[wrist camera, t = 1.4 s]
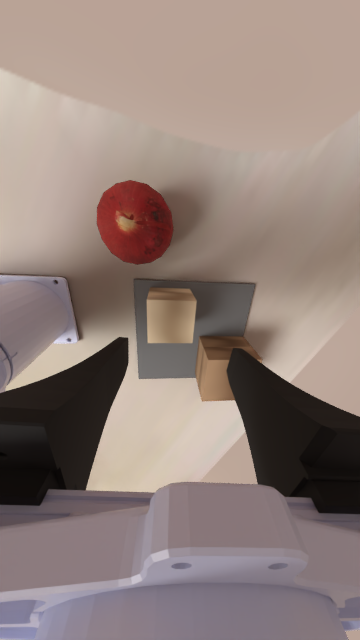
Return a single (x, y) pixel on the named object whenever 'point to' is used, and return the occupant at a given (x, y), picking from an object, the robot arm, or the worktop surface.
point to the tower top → (217, 373)
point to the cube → (170, 315)
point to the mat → (210, 320)
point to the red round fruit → (134, 222)
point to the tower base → (217, 342)
